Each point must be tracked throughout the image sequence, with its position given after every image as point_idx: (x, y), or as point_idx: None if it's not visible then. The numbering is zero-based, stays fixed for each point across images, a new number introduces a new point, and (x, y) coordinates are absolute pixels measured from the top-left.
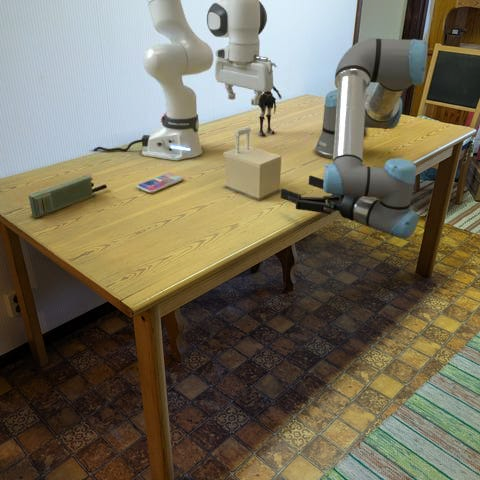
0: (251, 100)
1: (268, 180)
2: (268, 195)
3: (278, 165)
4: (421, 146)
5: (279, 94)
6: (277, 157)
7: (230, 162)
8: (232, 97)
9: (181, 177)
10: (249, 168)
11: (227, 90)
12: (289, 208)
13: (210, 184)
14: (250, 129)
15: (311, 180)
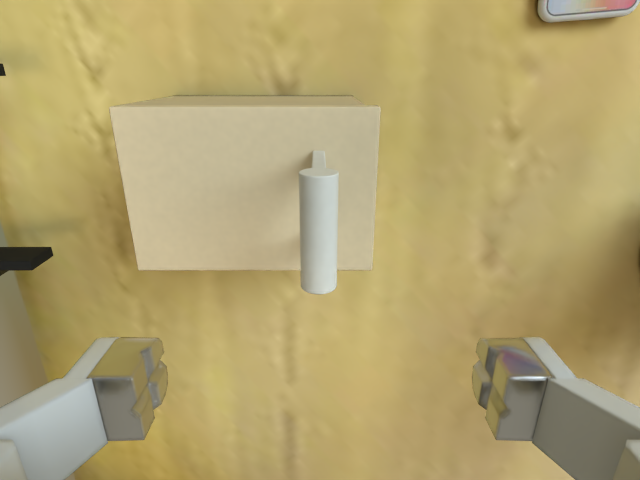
0: (138, 365)
1: None
2: None
3: None
4: None
5: None
6: (133, 243)
7: (324, 103)
8: (487, 363)
9: (550, 11)
10: (194, 103)
11: (610, 404)
12: (59, 124)
13: (418, 75)
14: (302, 286)
15: (26, 254)
